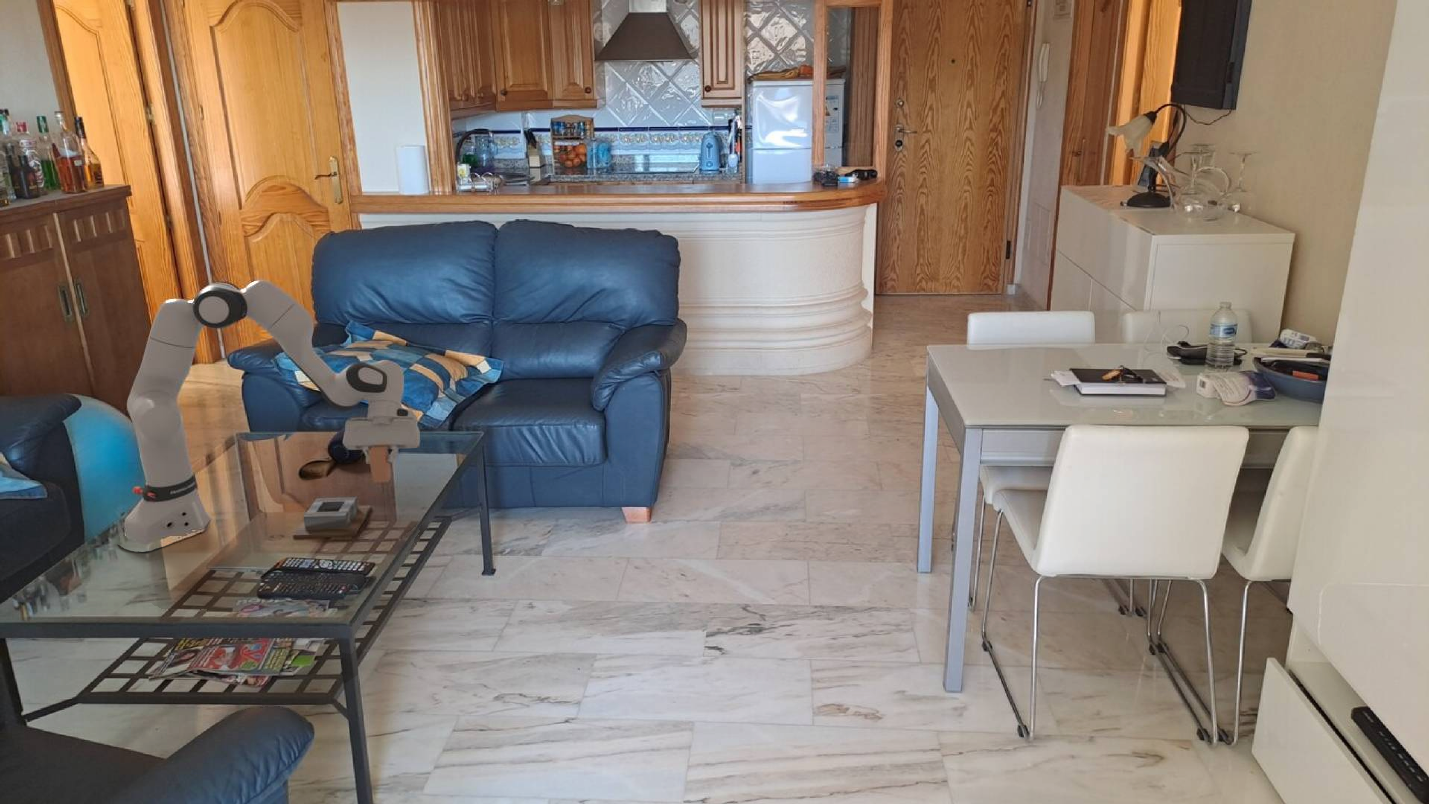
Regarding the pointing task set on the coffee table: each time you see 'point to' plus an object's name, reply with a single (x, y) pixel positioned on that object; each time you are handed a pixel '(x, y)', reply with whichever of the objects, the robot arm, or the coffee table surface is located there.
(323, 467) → the sunglasses case
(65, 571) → the coffee table surface
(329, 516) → the well
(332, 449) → the portable speaker
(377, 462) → the post
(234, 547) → the coffee table surface
